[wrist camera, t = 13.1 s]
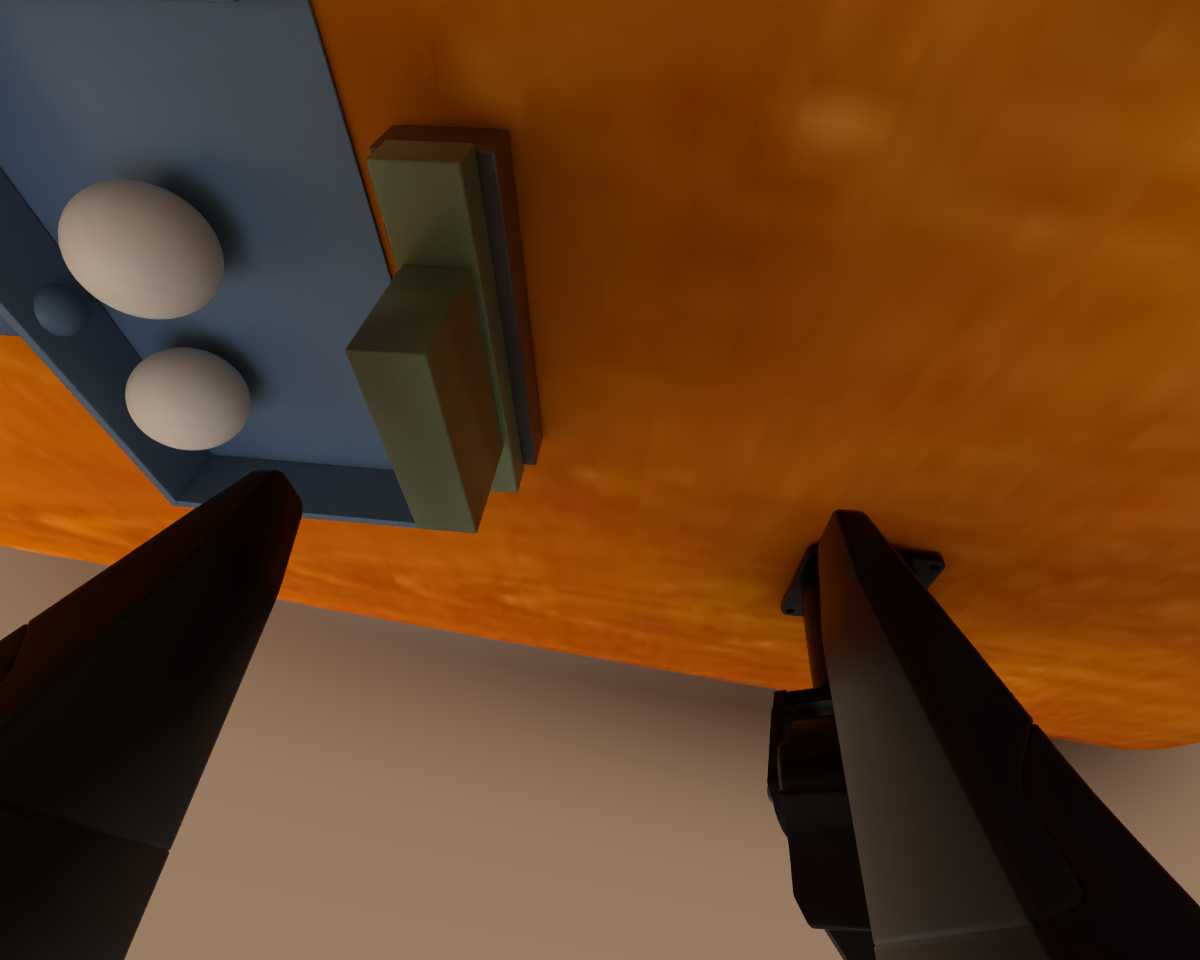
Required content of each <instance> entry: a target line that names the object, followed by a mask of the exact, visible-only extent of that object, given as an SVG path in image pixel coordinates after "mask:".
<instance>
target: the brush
mask: <svg viewBox="0 0 1200 960" xmlns="http://www.w3.org/2000/svg"><path fill="white" fill-rule="evenodd" d="M370 150H371V153H372V154H371V155H370V156H369V157H368V158H367V160H366V163H367V166H368V169H369V173H370V176H371V180H372V183H373V187H374V190H375V194H376V197H377V201H378V204H379V208H380V211H381V214H382V218H383V221H384V225H385V228H386V232H387V235H388V239H389V242H390V246H391V249H392V253H393V256H394V259H395V263H396V266H397V270H398V272H397V273H396V275H395V276H394V278H393V279H392V281H391V282H390V284H389V285H388V287H387V288H386V289H385V291H384V292H383V294H382V295H381V297H380V298H379V300H378V301H377V303H376V304H375V306H374V307H373V309H372V310H371V312H370V313H369V315H368V316H367V318H366V319H365V321H364V322H363V323H362V325H361V326H360V328H359V329H358V331H357V332H356V334H355V335H354V337H353V338H352V340H351V341H350V343H349V344H348V346H347V347H346V349H345V353H346V355H347V358H348V360H349V362H350V365H351V367H352V370H353V372H354V375H355V377H356V380H357V382H358V384H359V387H360V389H361V392H362V394H363V397H364V399H365V401H366V404H367V406H368V409H369V411H370V414H371V416H372V419H373V421H374V423H375V426H376V428H377V431H378V433H379V436H380V438H381V441H382V443H383V445H384V448H385V450H386V453H387V455H388V458H389V460H390V462H391V465H392V467H393V470H394V472H395V475H396V477H397V480H398V482H399V484H400V487H401V489H402V492H403V494H404V497H405V499H406V501H407V504H408V506H409V509H410V511H411V514H412V516H413V519H414V521H415V523H416V526H417V528H421V529H432V530H444V531H455V532H466V533H477V531H478V527H479V524H480V521H481V518H482V515H483V511H484V508H485V505H486V502H487V499H488V495H489V492H490V491H501V492H513V493H517V492H518V489H519V485H520V482H521V478H522V474H523V471H524V465H523V464H525V465H536V462H537V458H538V454H539V450H540V446H541V443H542V439H543V435H542V426H541V417H540V408H539V399H538V390H537V381H536V372H535V363H534V354H533V345H532V336H531V327H530V318H529V308H528V299H527V290H526V281H525V272H524V263H523V254H522V245H521V236H520V227H519V218H518V209H517V200H516V191H515V182H514V172H513V163H512V154H511V145H510V136H509V131H508V130H506V129H479V128H450V127H422V126H391V127H390V128H389V129H388V130H387V131H386V132H385V133H384V134H383V135H382V136H381V137H380V138H379V139H378V140H376V141H375V142H374V143H373V144H372V145H371V146H370Z"/></svg>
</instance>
